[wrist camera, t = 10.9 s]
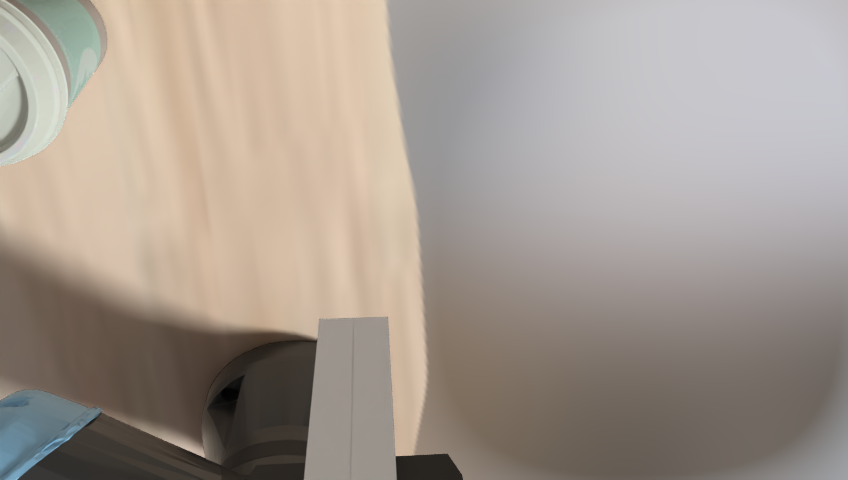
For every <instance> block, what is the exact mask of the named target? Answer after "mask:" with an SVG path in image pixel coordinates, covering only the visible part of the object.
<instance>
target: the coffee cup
mask: <svg viewBox="0 0 848 480" xmlns="http://www.w3.org/2000/svg"><path fill="white" fill-rule="evenodd" d="M106 49H107V33H106V28H105V25H104V22H103V20H102V17H101V15H100V14H99V12H98V10H97V9H96V8H95V6H94V5H93V4H92V2H91V1H90V0H0V166H4V165H9V164H13V163H16V162H19V161H22V160H24V159H26V158H29V157H31V156H33V155H35V154H37V153H39V152H40V151H42V150H43V149H44V148H46V147H47V146H48V145H49V144H50V143H51V142H52V141H53V140H54V139H55V137H56V136H57V135H58V133H59V131H60V130H61V128H62V126H63V123H64V121H65V117H66V113H67V109H68V108H69V107H70V105H71V104H72V103H73V101H74V100H75V98H76V97H77V96H78V94H79V93H80V91H81V90H82V89H83V87H84V86H85V85H86V83H87V82H88V80H89V79H90V78H91V76H92V75H93V73H94V72H95V70H96V69H97V68H98V66H99V65H100V63H101V62H102V60H103V58H104V56H105V53H106Z"/></svg>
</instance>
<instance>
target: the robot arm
mask: <svg viewBox="0 0 848 480" xmlns="http://www.w3.org/2000/svg"><path fill="white" fill-rule="evenodd" d="M103 411H104V410H102V409H101V408H98V407H94V408H88V407H85V406H82V405H80V404H77V403H74V402H72V401H69V400H66V399H64V398H61V397H59V396H56V395H53V394H51V393H48V392H45V391H41V390H22V391H18V392H15V393H13V394H10V395H8V396H7V397H5V398H3V399H2V400H0V480H463V478H462V474H461V473H460V471H459V470H458V468H457V467H456V465H455V464H454V463H453V461H452V460H451V458H450V457H449V455H448V454H434V455H414V456H395V438H394V419H393V401H392V382H391V364H390V345H389V326H388V317H368V318H339V319H319V328H318V339H317V343H315V342H305V341H289V342H279V343H274V344H269V345H265V346H262V347H258V348H256V349H253V350H251V351H248V352H246V353H244V354H243V355H241V356H239V357H237V358H236V359H234V360H233V361H232V362H230V363H229V364H228V365H227V366H226V367H225V368H224V369H223V370H222V371H221V372H220V373H219V374H218V376H217V377H216V378H215V380H214V382H213V383H212V385H211V387H210V390H209V393H208V396H207V400H206V403H205V407H204V410H203V414H202V423H201V433H202V440H203V446H204V453H205V458H203V457H201V456H199V455H196V454H194V453H192V452H190V451H187V450H185V449H183V448H180V447H178V446H176V445H174V444H171V443H169V442H167V441H164V440H162V439H160V438H158V437H155V436H153V435H151V434H148V433H146V432H144V431H141V430H139V429H137V428H135V427H132V426H130V425H128V424H125V423H123V422H121V421H119V420H116V419H114V418H112V417H109V416H107V415H105V414H103V413H102V412H103Z"/></svg>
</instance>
